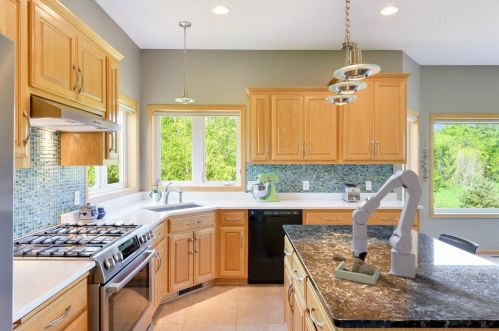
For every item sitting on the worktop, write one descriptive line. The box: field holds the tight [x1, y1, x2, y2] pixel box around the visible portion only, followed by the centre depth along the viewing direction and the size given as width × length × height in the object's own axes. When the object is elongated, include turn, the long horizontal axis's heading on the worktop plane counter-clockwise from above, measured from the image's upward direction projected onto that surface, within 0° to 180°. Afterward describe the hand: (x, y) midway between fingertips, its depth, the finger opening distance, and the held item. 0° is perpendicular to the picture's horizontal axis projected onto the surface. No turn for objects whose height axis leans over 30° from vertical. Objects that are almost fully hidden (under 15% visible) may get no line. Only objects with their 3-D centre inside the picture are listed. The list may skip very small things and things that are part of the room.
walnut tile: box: [332, 253, 345, 262], centre depth 145 cm, size 5×5×2 cm
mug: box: [350, 258, 377, 276], centre depth 123 cm, size 8×10×10 cm
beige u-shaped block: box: [333, 260, 381, 286], centre depth 124 cm, size 16×13×3 cm
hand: (360, 268), depth 128 cm, fingers closed
